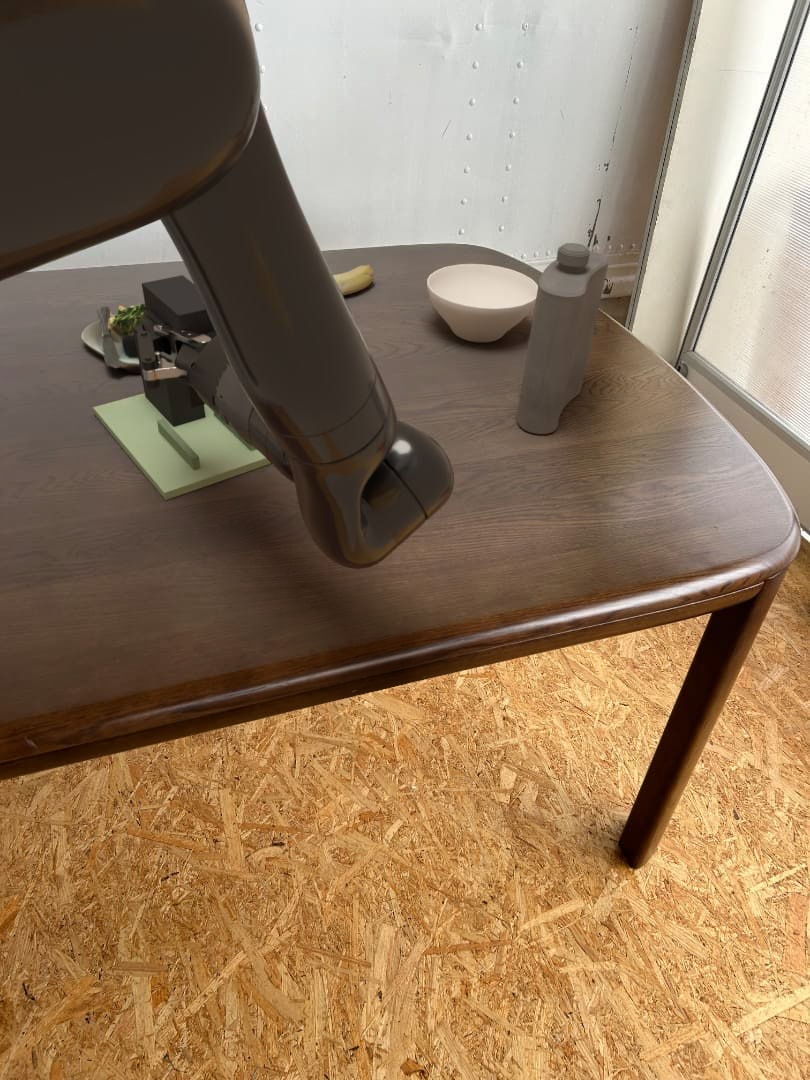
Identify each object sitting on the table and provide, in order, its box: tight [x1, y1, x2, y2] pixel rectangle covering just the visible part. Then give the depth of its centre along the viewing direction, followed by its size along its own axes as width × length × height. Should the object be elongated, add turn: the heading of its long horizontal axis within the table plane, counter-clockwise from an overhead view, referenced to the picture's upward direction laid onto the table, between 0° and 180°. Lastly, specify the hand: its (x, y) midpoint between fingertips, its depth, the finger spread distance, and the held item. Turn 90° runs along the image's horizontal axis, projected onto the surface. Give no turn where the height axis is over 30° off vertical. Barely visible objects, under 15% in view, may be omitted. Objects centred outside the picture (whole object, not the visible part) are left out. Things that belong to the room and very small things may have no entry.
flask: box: [516, 242, 610, 435], centre depth 93 cm, size 15×6×20 cm, turn 154°
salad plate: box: [81, 302, 146, 374], centre depth 106 cm, size 19×18×5 cm
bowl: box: [426, 263, 538, 343], centre depth 113 cm, size 16×16×7 cm
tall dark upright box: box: [141, 274, 215, 408], centre depth 73 cm, size 4×8×9 cm, turn 36°
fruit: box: [332, 264, 375, 296], centre depth 122 cm, size 7×15×3 cm, turn 114°
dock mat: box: [92, 325, 272, 501], centre depth 87 cm, size 16×20×10 cm
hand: (172, 314), depth 73 cm, fingers closed on tall dark upright box, 4 cm apart
